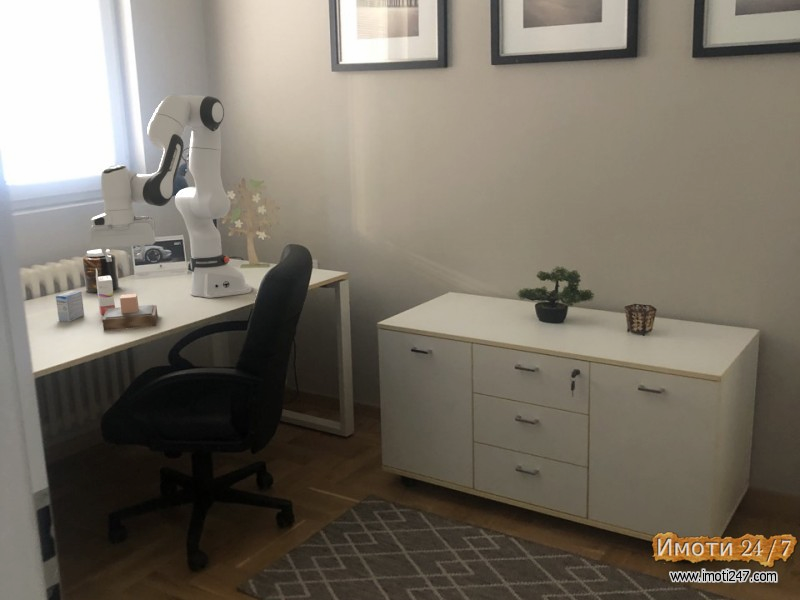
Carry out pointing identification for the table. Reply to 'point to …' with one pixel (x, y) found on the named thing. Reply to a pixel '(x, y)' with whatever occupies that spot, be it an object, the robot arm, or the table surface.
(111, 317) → the walnut riser
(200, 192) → the robot arm
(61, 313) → the medicine box
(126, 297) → the terracotta cube
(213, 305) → the table surface
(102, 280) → the ink cartridge box
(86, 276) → the jar
